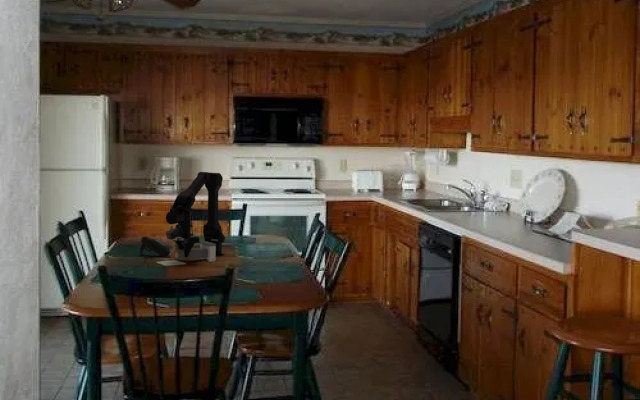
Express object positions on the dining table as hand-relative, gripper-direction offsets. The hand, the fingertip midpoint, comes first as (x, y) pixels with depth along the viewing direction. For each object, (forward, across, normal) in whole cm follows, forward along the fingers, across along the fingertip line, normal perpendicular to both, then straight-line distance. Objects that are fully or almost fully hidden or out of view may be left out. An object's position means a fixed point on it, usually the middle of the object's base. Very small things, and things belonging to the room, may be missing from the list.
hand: (183, 256), depth 318 cm
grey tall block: (+1, 0, +4) cm, 4 cm away
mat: (+3, 0, -6) cm, 7 cm away
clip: (+3, 0, +12) cm, 13 cm away
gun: (+3, -20, -4) cm, 21 cm away
